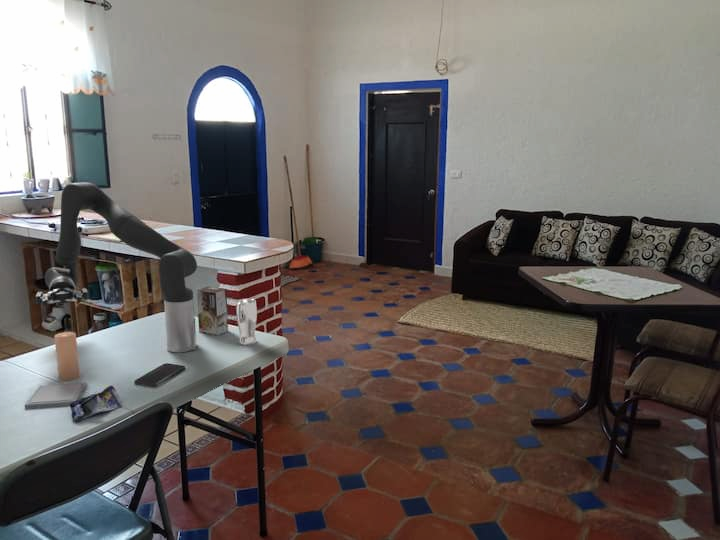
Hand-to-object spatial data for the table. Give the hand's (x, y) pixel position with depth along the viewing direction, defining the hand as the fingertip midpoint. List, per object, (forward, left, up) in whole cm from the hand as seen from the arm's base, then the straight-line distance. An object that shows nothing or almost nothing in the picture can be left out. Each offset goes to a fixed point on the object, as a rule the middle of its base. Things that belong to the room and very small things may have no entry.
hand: (62, 301), depth 167 cm
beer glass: (-55, -10, -20) cm, 59 cm away
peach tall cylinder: (-3, +11, -20) cm, 23 cm away
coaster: (-3, +24, -20) cm, 32 cm away
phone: (-29, +15, -21) cm, 38 cm away
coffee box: (-43, -24, -20) cm, 53 cm away
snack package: (-15, +35, -21) cm, 43 cm away
